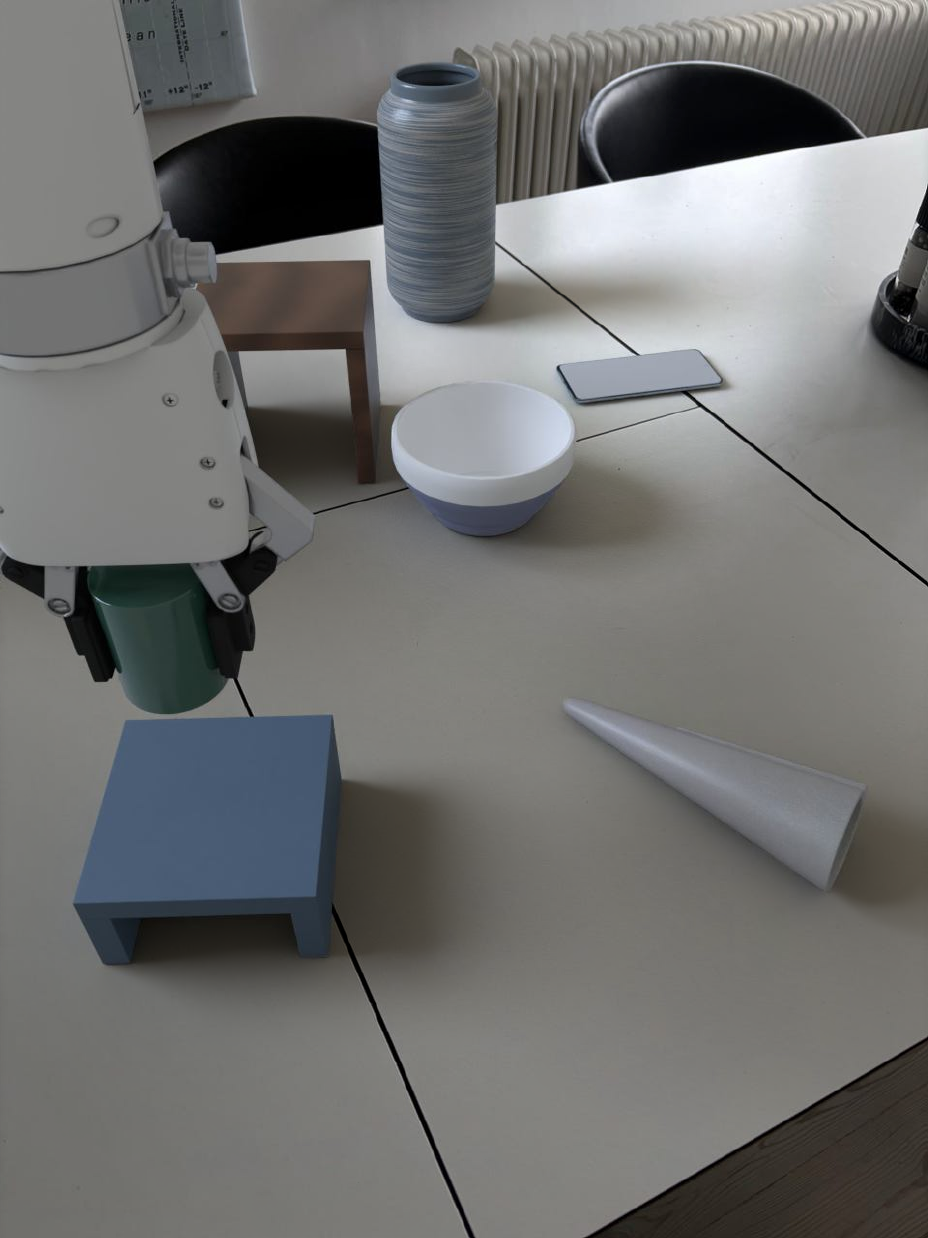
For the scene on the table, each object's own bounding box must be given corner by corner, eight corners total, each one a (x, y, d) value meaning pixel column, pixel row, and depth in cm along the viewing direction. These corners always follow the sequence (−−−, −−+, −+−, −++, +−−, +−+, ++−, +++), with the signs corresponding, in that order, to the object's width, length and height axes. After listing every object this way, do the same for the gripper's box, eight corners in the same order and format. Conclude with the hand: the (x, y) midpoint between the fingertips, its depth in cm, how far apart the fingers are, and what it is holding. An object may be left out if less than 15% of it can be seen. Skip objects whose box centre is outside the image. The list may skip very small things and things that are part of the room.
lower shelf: (102, 964, 53) (71, 903, 49) (148, 784, 62) (125, 719, 58) (328, 957, 54) (316, 896, 50) (341, 778, 62) (332, 714, 58)
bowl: (374, 476, 86) (367, 398, 81) (530, 443, 90) (533, 366, 85) (427, 579, 76) (424, 497, 71) (600, 537, 80) (609, 457, 75)
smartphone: (554, 364, 99) (697, 347, 101) (554, 369, 99) (697, 352, 102) (575, 400, 94) (725, 382, 96) (574, 405, 94) (724, 387, 97)
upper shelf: (210, 487, 85) (177, 334, 76) (232, 406, 95) (205, 262, 85) (375, 483, 86) (363, 331, 76) (380, 403, 95) (370, 259, 86)
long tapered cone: (520, 714, 61) (838, 840, 52) (571, 661, 65) (873, 768, 56) (519, 784, 64) (819, 914, 55) (568, 729, 68) (853, 841, 59)
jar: (112, 717, 45) (72, 610, 41) (135, 640, 49) (101, 534, 45) (223, 713, 45) (196, 607, 41) (238, 637, 49) (214, 531, 45)
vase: (408, 337, 105) (397, 98, 89) (374, 291, 113) (359, 64, 97) (510, 318, 108) (517, 83, 92) (471, 275, 116) (471, 52, 100)
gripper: (322, 230, 37) (361, 600, 49) (-145, 240, 37) (11, 609, 49) (304, 325, 31) (353, 714, 44) (-246, 337, 31) (-41, 725, 44)
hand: (172, 655), depth 46 cm, fingers closed on jar, 5 cm apart
